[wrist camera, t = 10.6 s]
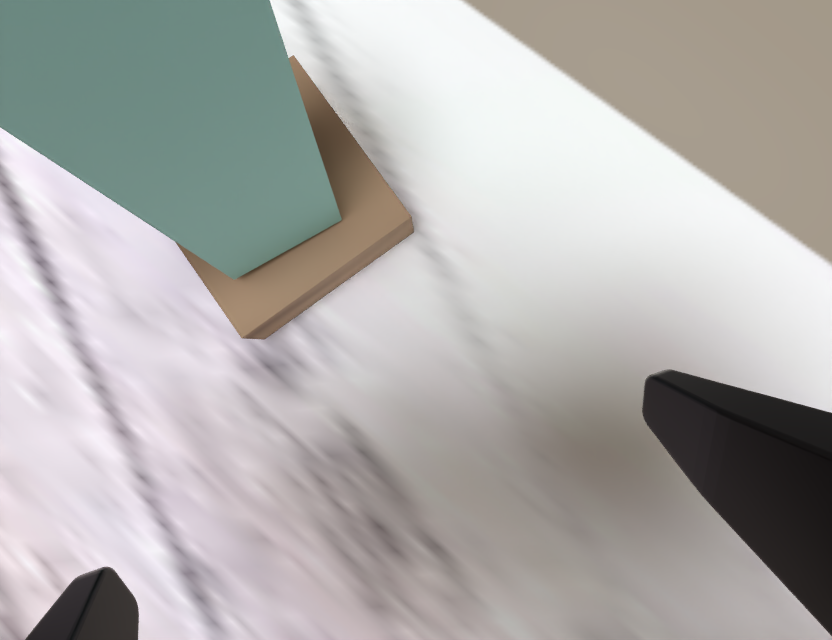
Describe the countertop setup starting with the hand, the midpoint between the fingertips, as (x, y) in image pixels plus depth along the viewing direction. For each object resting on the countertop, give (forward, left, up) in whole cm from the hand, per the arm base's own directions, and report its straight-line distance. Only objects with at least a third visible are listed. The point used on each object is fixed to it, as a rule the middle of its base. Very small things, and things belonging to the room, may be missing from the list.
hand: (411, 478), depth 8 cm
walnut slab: (+9, +4, -13) cm, 17 cm away
